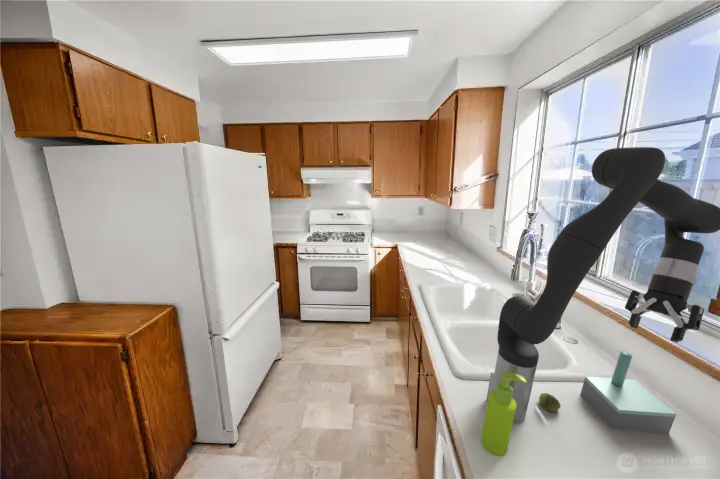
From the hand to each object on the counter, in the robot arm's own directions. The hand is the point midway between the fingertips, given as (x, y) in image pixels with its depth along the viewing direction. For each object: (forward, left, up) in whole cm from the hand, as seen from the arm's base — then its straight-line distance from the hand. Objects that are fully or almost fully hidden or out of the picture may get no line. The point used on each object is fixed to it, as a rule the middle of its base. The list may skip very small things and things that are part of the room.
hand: (652, 334), depth 76 cm
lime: (-25, -3, -24) cm, 35 cm away
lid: (-5, -3, -19) cm, 20 cm away
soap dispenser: (-44, -15, -24) cm, 53 cm away
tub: (-5, -3, -24) cm, 24 cm away
